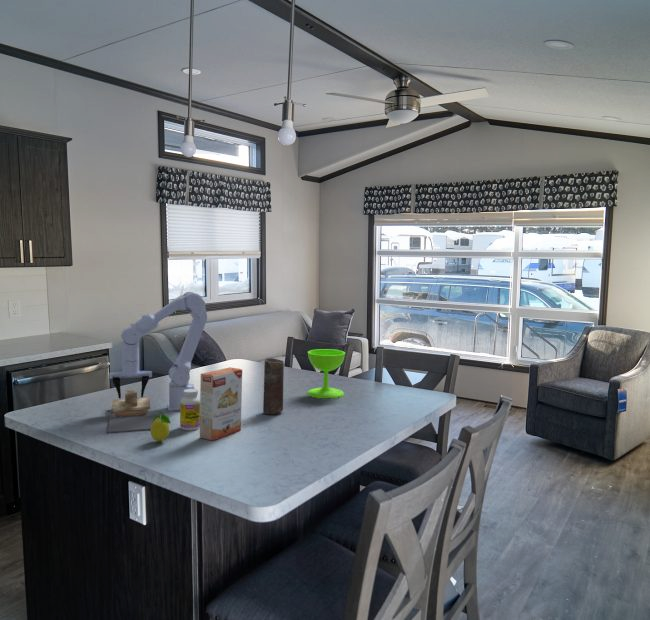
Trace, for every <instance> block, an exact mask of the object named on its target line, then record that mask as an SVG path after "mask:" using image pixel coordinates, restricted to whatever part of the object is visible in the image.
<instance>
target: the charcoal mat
mask: <svg viewBox="0 0 650 620" xmlns="http://www.w3.org/2000/svg"><path fill="white" fill-rule="evenodd" d="M156 415H157V414H144V415H141V416H128V417H120V416H115V417H109V419H108V420H109V421H108V426H107V434H115V433H128V432H140V431H141V432H143V431H151V426H152V424H153V422H154V421H155V420H156V419H158V418H159V417H158V418H156V419H155V420H154V421H153V419H154V417H155V416H156Z"/></svg>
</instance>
